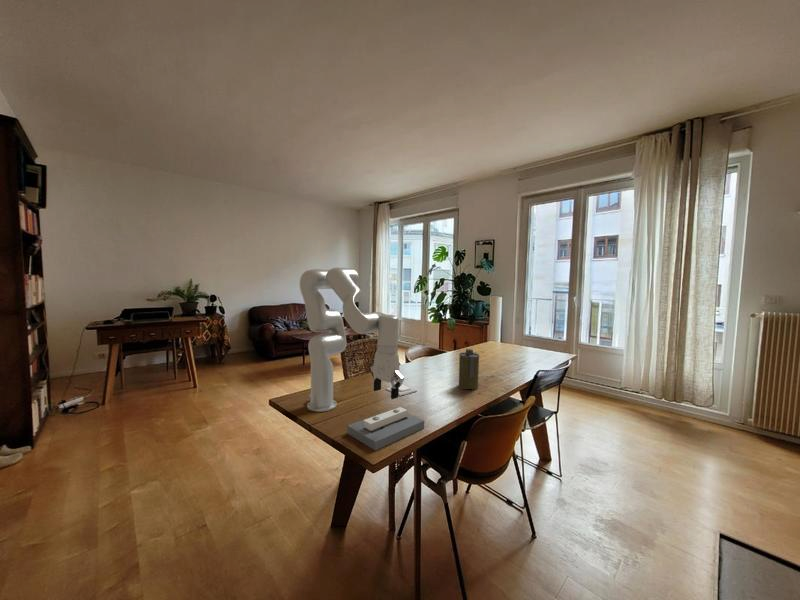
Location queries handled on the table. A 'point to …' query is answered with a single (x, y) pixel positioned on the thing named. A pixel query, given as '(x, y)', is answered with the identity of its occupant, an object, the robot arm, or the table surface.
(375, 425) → the off-white connector bar
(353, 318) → the robot arm
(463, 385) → the canister
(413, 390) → the light switch
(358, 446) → the table surface
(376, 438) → the mounting board
